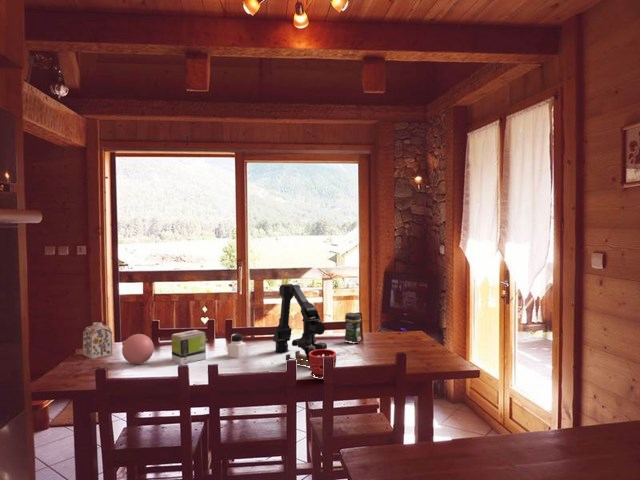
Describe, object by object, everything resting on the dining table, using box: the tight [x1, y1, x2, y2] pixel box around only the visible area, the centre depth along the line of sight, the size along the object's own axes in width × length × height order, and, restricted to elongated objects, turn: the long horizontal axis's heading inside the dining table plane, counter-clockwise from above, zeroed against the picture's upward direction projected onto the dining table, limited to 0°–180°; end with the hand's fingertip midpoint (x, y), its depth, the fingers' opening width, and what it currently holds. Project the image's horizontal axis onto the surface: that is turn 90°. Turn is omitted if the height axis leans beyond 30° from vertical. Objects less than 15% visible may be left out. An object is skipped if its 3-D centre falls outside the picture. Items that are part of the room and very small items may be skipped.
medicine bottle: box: [227, 333, 247, 359], centre depth 265 cm, size 7×7×12 cm
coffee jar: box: [344, 312, 362, 342], centre depth 296 cm, size 10×8×19 cm
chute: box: [285, 350, 325, 366], centre depth 251 cm, size 18×11×4 cm, turn 58°
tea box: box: [171, 329, 207, 365], centre depth 257 cm, size 15×10×15 cm, turn 134°
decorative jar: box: [82, 322, 114, 360], centre depth 265 cm, size 12×12×18 cm
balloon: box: [121, 333, 155, 365], centre depth 251 cm, size 15×20×15 cm
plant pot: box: [309, 348, 337, 378], centre depth 229 cm, size 13×13×12 cm
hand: (309, 360), depth 250 cm, fingers closed
